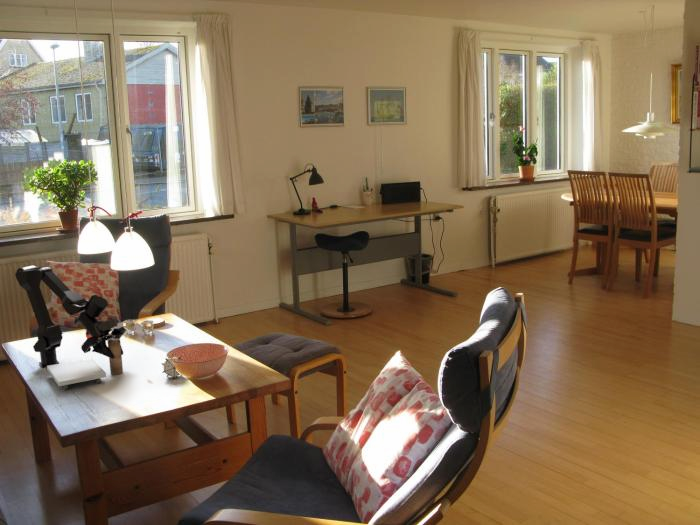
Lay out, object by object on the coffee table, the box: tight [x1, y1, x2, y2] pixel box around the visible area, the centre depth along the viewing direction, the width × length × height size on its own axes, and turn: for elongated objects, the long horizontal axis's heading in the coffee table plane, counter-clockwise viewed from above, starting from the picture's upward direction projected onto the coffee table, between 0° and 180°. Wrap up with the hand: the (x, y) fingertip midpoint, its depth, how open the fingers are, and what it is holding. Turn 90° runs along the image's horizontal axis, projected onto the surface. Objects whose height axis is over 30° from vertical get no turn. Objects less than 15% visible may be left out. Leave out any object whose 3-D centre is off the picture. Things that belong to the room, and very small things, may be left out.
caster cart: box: [46, 357, 107, 391], centre depth 258 cm, size 22×16×4 cm
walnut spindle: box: [107, 338, 124, 376], centre depth 264 cm, size 4×4×12 cm
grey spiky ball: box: [161, 353, 182, 380], centre depth 257 cm, size 9×8×10 cm
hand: (118, 356), depth 263 cm, fingers closed on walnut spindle, 4 cm apart
